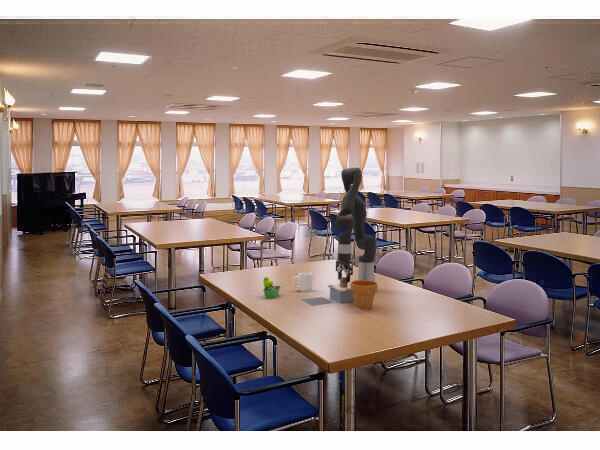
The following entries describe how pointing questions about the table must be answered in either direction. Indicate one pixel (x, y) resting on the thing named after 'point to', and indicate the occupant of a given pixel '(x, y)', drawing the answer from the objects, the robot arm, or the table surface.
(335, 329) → the table surface
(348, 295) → the blue gray open box
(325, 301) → the mat
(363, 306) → the flower pot
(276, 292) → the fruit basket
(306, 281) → the cup
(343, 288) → the lid
